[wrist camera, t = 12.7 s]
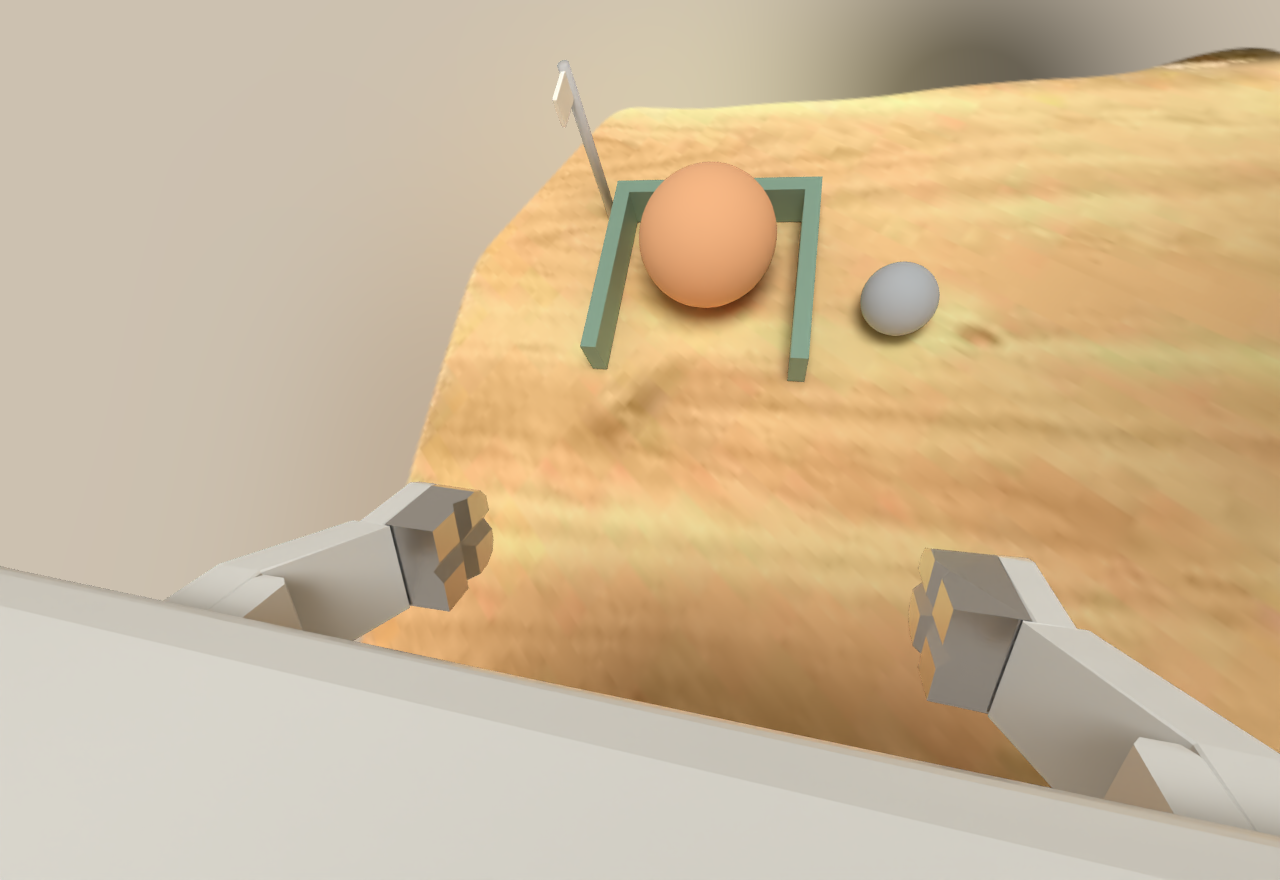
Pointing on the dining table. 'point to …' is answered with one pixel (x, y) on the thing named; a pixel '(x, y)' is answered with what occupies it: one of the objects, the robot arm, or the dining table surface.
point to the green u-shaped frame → (786, 194)
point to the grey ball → (899, 298)
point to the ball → (708, 234)
